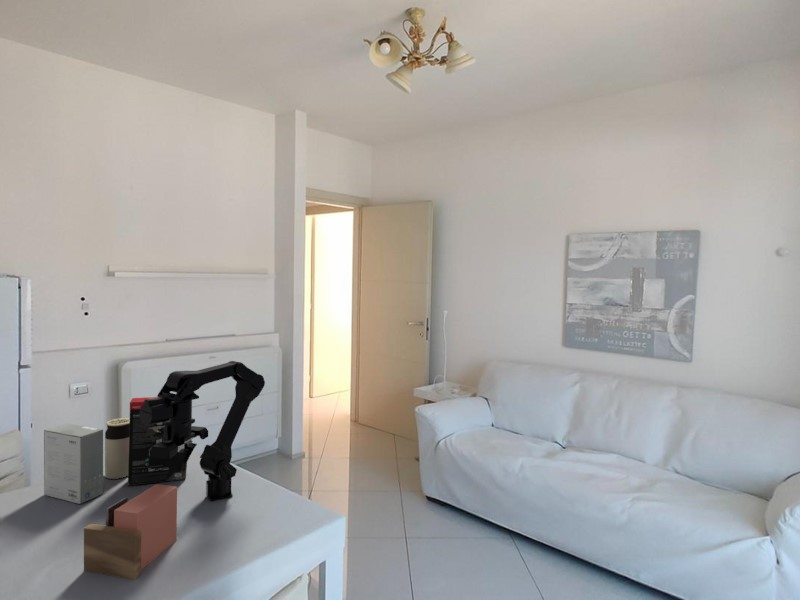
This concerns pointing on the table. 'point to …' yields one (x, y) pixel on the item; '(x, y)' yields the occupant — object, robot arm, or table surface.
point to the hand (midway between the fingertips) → (180, 471)
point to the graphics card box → (147, 452)
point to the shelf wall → (112, 551)
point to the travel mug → (117, 448)
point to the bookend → (111, 511)
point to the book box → (151, 519)
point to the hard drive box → (73, 462)
